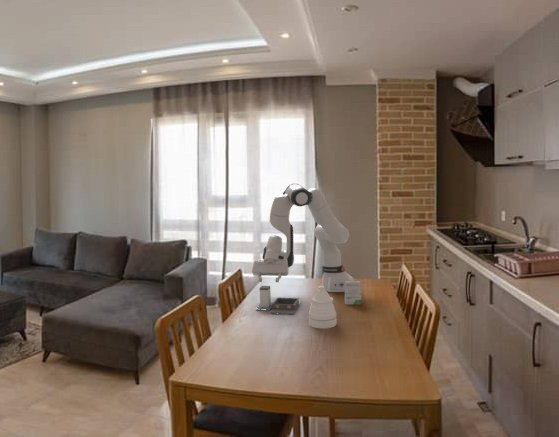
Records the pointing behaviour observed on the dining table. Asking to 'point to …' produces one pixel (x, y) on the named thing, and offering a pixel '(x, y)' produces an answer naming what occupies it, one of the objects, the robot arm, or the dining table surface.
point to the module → (265, 296)
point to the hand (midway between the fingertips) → (268, 281)
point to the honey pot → (322, 310)
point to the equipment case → (285, 305)
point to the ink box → (353, 292)
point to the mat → (265, 307)
